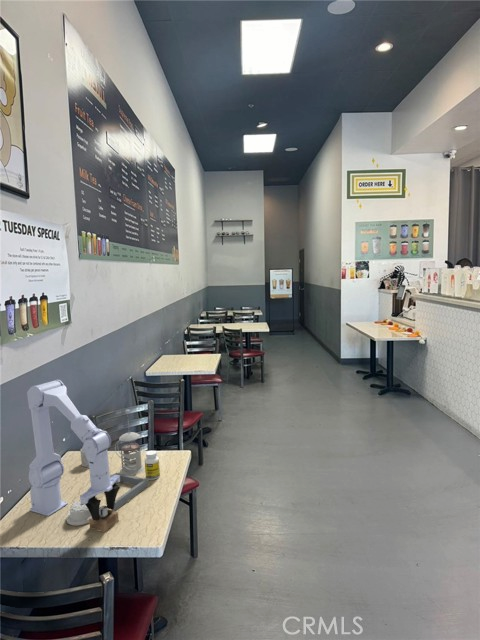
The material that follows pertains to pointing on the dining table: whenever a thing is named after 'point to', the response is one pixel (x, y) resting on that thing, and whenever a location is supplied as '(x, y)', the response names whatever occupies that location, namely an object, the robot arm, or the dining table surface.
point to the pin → (103, 512)
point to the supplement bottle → (152, 465)
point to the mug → (84, 459)
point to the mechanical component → (78, 514)
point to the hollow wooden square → (104, 521)
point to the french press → (133, 465)
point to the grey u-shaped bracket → (137, 481)
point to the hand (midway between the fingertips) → (103, 514)
